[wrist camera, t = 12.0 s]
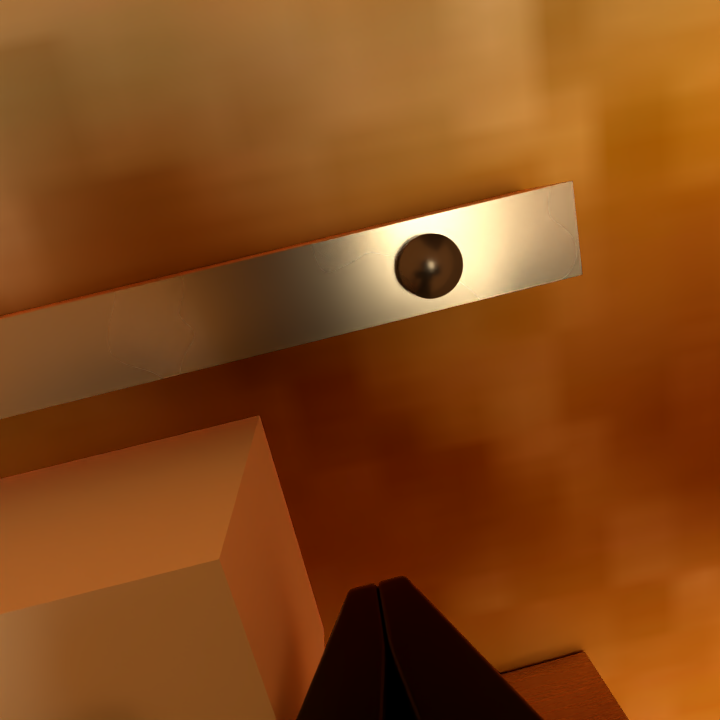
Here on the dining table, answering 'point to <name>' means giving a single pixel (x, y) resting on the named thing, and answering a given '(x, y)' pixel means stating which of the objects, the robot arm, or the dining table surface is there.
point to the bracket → (309, 330)
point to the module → (156, 585)
